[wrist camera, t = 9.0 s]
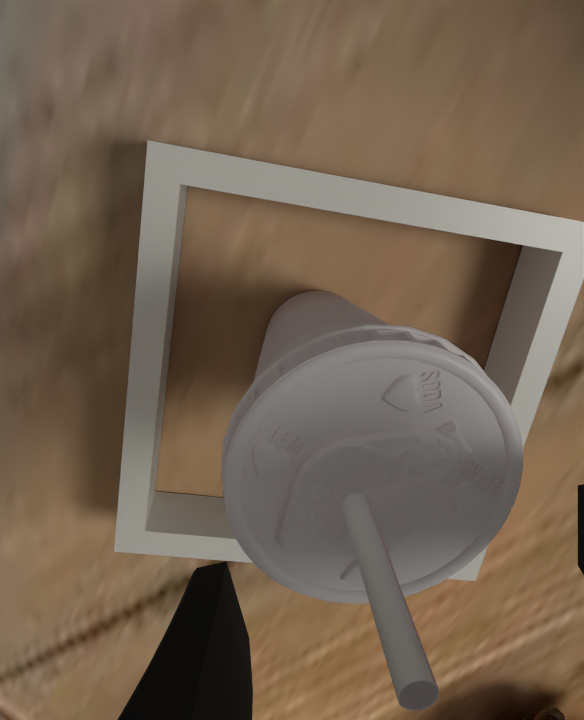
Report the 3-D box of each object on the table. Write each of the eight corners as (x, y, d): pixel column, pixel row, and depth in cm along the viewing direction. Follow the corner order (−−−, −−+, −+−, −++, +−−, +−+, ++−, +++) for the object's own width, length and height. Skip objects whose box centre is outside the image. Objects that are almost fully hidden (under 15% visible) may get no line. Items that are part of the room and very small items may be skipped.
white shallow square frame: (558, 217, 19) (602, 225, 17) (452, 539, 24) (475, 580, 22) (160, 143, 17) (147, 140, 15) (127, 509, 22) (114, 551, 20)
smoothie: (193, 317, 19) (97, 646, 6) (344, 215, 19) (591, 353, 6) (290, 445, 22) (367, 887, 9) (429, 359, 21) (749, 700, 8)
